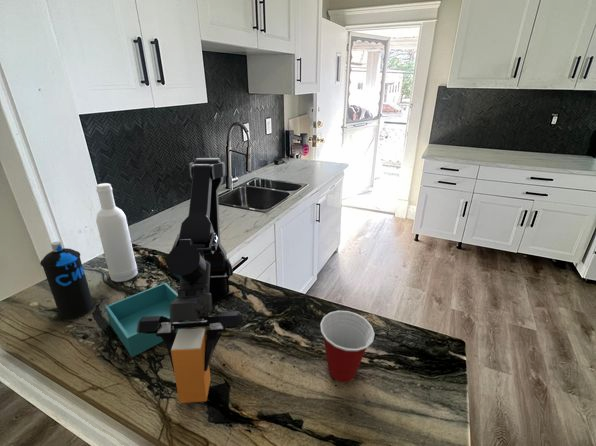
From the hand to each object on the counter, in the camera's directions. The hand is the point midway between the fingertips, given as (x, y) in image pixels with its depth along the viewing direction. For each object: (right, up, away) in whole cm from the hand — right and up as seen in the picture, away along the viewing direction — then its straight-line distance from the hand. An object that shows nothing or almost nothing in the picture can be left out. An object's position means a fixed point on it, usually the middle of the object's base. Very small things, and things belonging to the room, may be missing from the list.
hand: (190, 371), depth 57 cm
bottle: (-36, +10, +43) cm, 57 cm away
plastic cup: (+29, -5, +10) cm, 31 cm away
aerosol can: (-40, +4, +27) cm, 49 cm away
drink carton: (0, -6, +4) cm, 7 cm away
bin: (-17, +1, +22) cm, 28 cm away
